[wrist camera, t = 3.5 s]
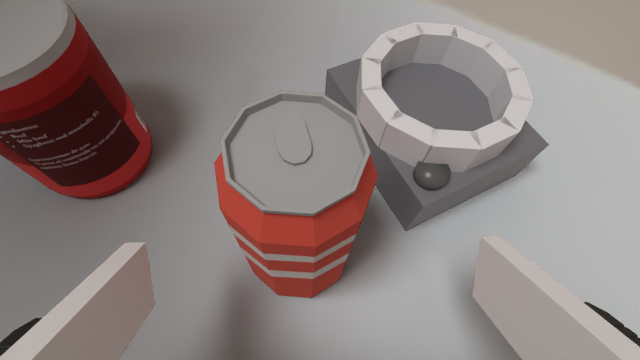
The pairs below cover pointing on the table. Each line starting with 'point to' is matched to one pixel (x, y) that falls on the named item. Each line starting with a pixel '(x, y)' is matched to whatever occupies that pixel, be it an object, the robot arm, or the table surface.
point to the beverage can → (295, 188)
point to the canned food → (65, 104)
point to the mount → (438, 115)
